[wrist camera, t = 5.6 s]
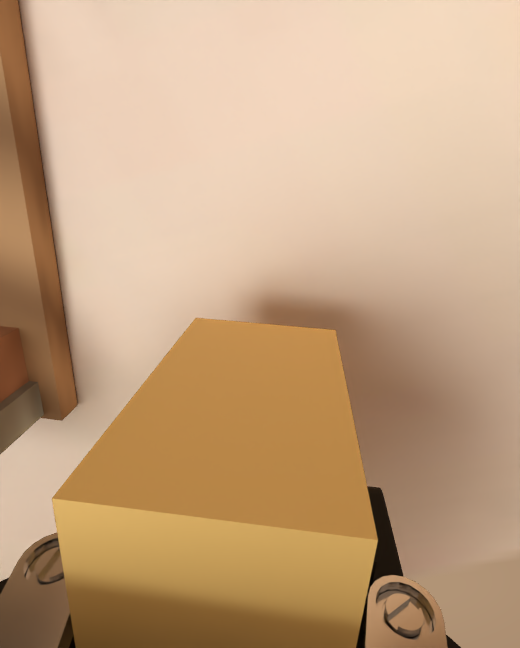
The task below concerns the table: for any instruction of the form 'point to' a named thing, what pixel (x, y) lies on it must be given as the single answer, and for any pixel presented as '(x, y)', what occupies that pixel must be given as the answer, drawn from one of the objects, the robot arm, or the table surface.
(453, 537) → the table surface
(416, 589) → the robot arm
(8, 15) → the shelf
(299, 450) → the yellow rectangular block
